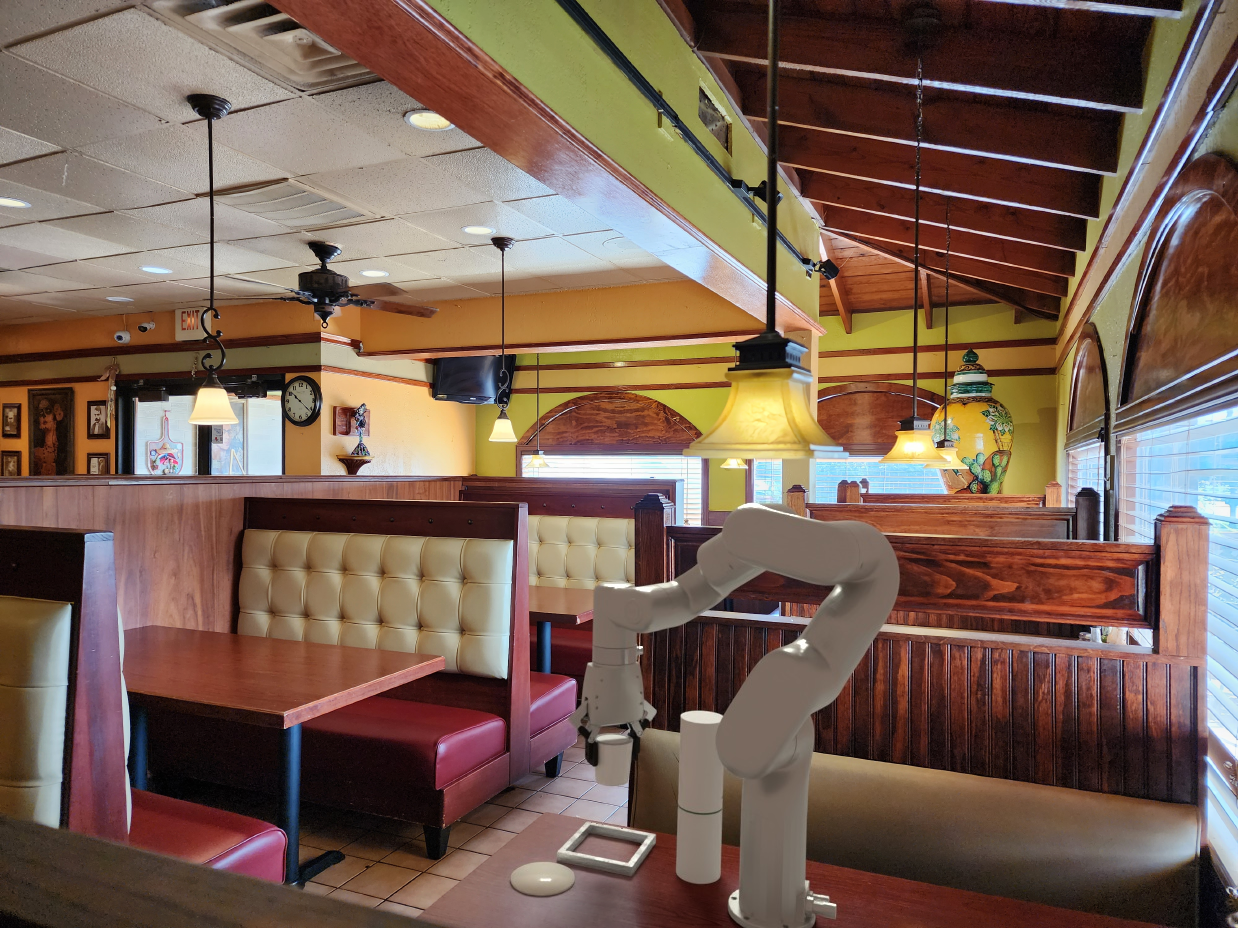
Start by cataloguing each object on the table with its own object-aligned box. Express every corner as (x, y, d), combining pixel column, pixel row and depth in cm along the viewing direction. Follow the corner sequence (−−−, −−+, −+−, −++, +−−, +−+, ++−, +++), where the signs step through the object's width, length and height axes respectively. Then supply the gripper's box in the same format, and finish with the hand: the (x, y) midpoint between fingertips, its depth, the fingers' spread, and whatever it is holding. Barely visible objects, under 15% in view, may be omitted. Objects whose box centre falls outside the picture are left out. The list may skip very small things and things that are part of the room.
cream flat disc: (584, 871, 129) (584, 868, 129) (558, 901, 119) (558, 898, 119) (528, 859, 132) (528, 857, 132) (499, 887, 123) (499, 885, 123)
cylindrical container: (721, 864, 133) (725, 712, 133) (719, 886, 126) (723, 725, 126) (678, 859, 134) (682, 709, 134) (673, 880, 127) (678, 721, 127)
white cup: (632, 787, 133) (633, 745, 133) (590, 786, 133) (591, 743, 133) (632, 773, 139) (633, 732, 140) (592, 772, 140) (593, 731, 140)
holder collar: (655, 842, 140) (655, 834, 140) (631, 876, 128) (631, 866, 128) (586, 829, 144) (586, 821, 144) (556, 860, 132) (557, 851, 132)
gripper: (649, 647, 144) (647, 748, 143) (558, 654, 137) (556, 760, 136) (669, 656, 137) (668, 761, 136) (575, 663, 130) (573, 775, 129)
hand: (612, 760), depth 136 cm, fingers closed on white cup, 6 cm apart
